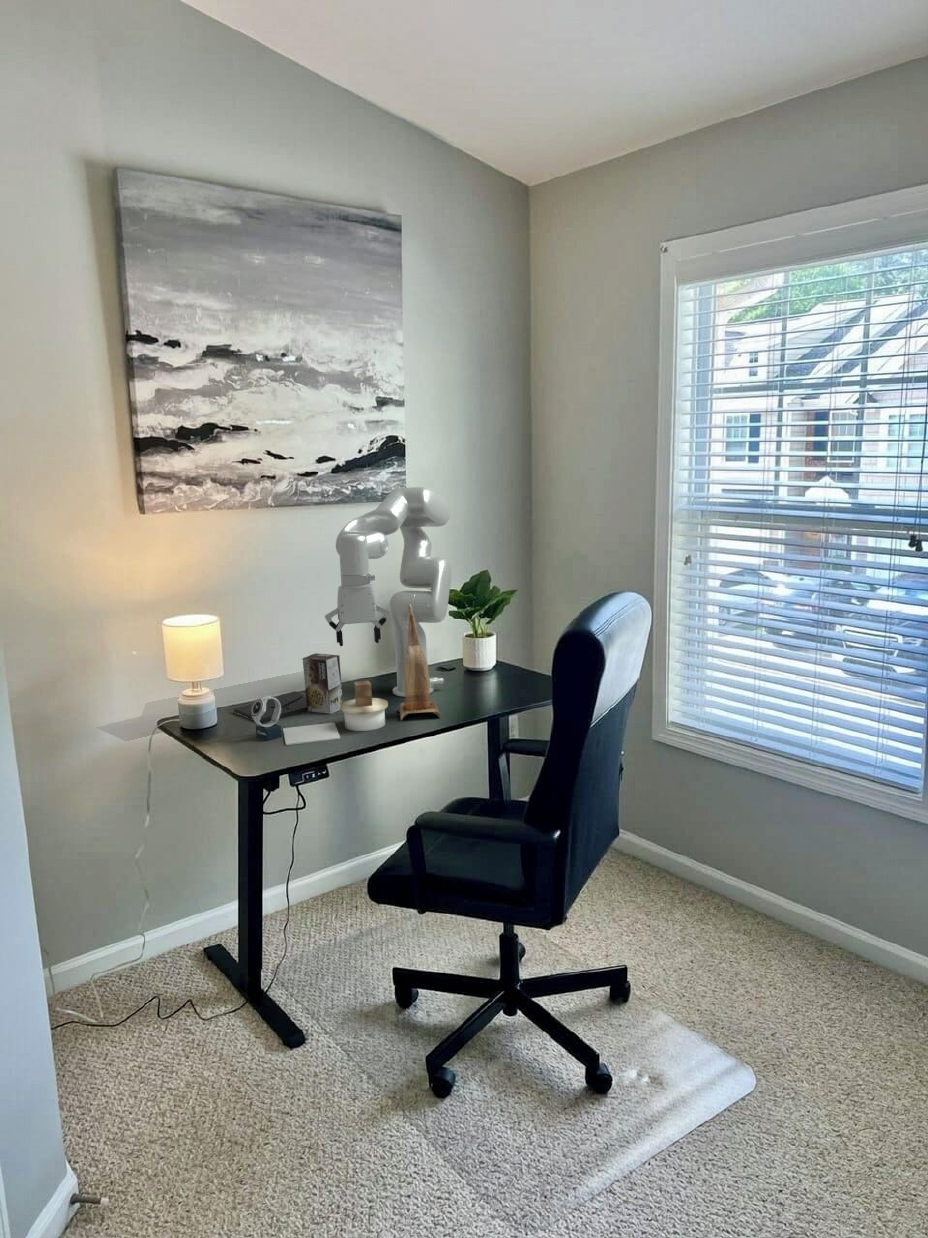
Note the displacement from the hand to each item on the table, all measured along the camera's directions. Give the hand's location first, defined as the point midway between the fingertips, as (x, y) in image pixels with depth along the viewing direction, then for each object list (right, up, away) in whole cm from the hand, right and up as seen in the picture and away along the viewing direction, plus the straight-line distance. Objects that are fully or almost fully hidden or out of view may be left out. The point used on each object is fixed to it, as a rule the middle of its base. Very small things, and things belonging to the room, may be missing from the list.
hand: (359, 643), depth 241 cm
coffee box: (-12, -20, +20) cm, 31 cm away
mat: (-13, -24, -2) cm, 27 cm away
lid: (+1, -17, +3) cm, 18 cm away
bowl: (+1, -22, +4) cm, 23 cm away
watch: (-24, -25, -3) cm, 35 cm away
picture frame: (-26, -21, +22) cm, 40 cm away
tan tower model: (+16, -21, +12) cm, 28 cm away
